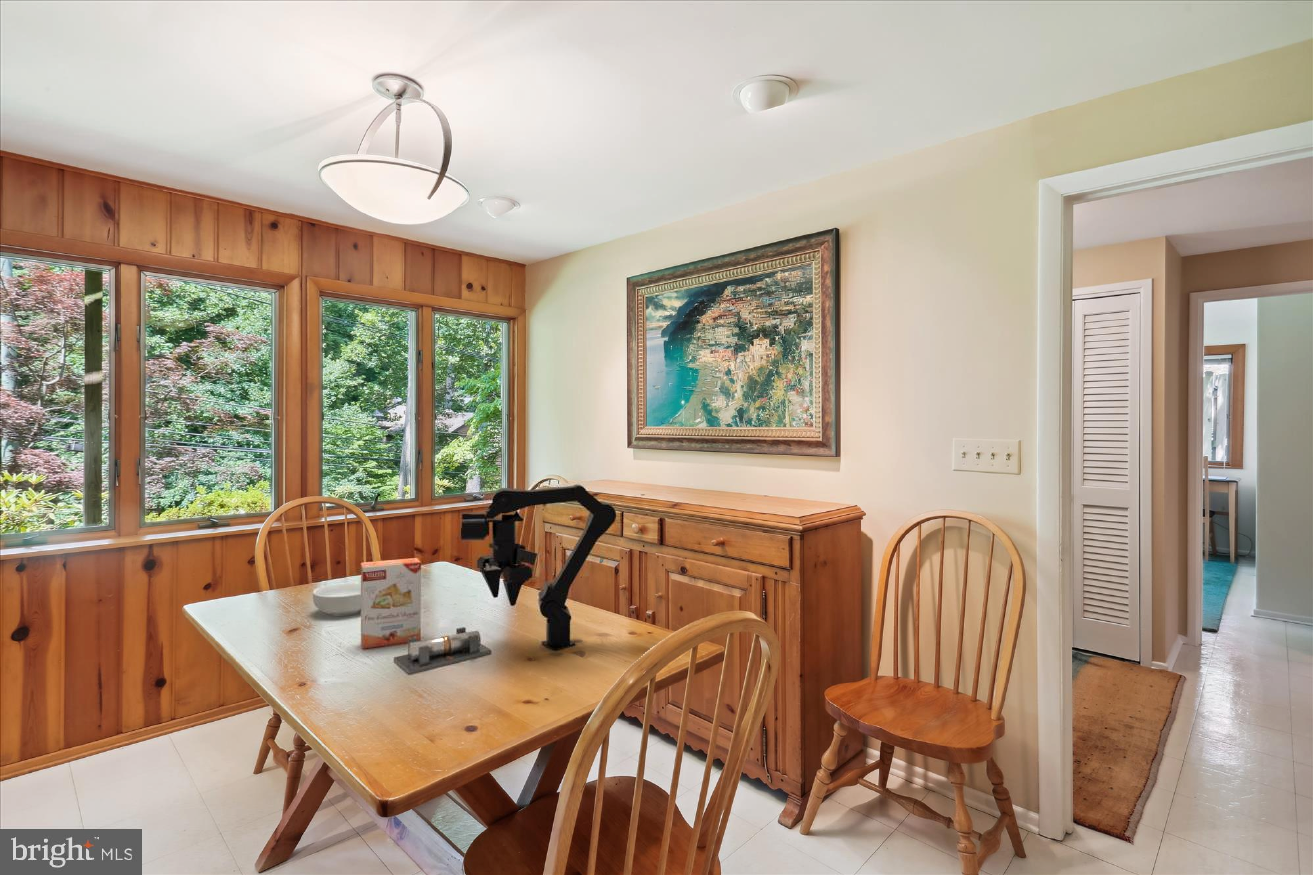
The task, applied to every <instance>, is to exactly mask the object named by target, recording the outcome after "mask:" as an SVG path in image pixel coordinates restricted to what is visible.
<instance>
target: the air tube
mask: <svg viewBox="0 0 1313 875" xmlns="http://www.w3.org/2000/svg"><path fill="white" fill-rule="evenodd" d="M475 634H477V635H478V647H480V644H482V642H481V634H480V631H479V630H477V629H476V630H473V631H471V630H470V631H467V632H466V633H460V634H451V635H449V634H448V635H444V636H439V637H433V638H428V639H423V640H420V641H417V642H411V643H409V657H410V660H416V659H419V647H422V646H426V645H428V646H429V657H431V656H436V655H441V654H447V653H451V652H456V651H461V650H466V649H468V636H470V635H475Z"/></svg>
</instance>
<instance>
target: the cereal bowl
mask: <svg viewBox="0 0 1313 875" xmlns="http://www.w3.org/2000/svg"><path fill="white" fill-rule="evenodd" d="M312 601H313V605H314V606H315V607H316V609H318V610H319V611H320V612H324V613H327V614H329V615H330V616H333V617H344V616H350V615H354V614H357V613H359V611H361V582H356V581H355V582H341V583H340V582H339V583H332V584H327V585H323V586H320V587H318V588H317V587H316V588H315V589H314V590H313V591H312Z"/></svg>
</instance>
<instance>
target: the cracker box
mask: <svg viewBox="0 0 1313 875" xmlns="http://www.w3.org/2000/svg"><path fill="white" fill-rule="evenodd" d="M360 583H361V610H360V643H361V649H363V650H365V649H371V648H377V647H378V648H379V647H384V646H393V645H397V644H398V645H399V644H406V643H407V644H408V639H411V638H415V637H417V638H418V641H422V640H421V637H422V636H421V634H422V633H421V629H422V628H421V627H422V626H421V623H422V622H421V620H422V619H421V618H422V617H421V615H422V612H421V610H422V607H421V606H422V597H421V596H422V563H421V560H420V559H419V558H418V557H413V558H410V557H409V558H400V559H399V558H398V559H390V560H389V559H387V560H376V561H365V562H363V561H362V562H361V563H360Z"/></svg>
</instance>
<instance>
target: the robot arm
mask: <svg viewBox="0 0 1313 875" xmlns="http://www.w3.org/2000/svg"><path fill="white" fill-rule="evenodd" d="M569 502H570V503H571V502H577V503H579V505H581V506H582V507H583V508H585V509H586V510H587V512H589V513H588V516H587V517H586V521H585V522H586V523H585V526H584V530H583V532H582V534H580V537H579V539H578V540H577V542H576V543H575V546H574V547H573V549H572V551H570V554H569V556H568V557H567V559H566V561H565V563H564V564H563V566H562V567H561V569H560V571H559V573H558V575H557V576H556V577H555V579H553V580H552V581H551V582H549V581H548V580H546V581H544V585H543V588H542V589H541V590H540V591H539V592H538V594H537V595H538V601H537V602H538V607H539V612H540V614H541V616H542V617H544V618H545V619H546V625H545V626H546V627H545V629H546V632H545V633H546V637H545V638H546V640H543V641H541V642H540V643H541V645H543V646H544V647H547V648H548V649H550V650H552V651H557V650H562V649H565V648H569V647H573V646H575V645H576V642H575V641H573V640H572V639H571V620H572V615H571V612H570V609H569V606H567V605H566V602H567V600H568V595H569V593H570V592H569V591H570V588H571V586H572V584H573V583H574V581H575V579H576V577H577V576H578V574H579V572H580V571H581V569H582V568H583V565H584V564H585V562H586V560H587V559H588V556H589V555H590V554H591V551H592V550H593V549H594V546H595V545H596V544H597V542H598V540H599V538H601V537H602V536H603V535H604V534H606V532H608V530H609V529H610V528H611V527H612V525H613V524H614V523H615V521H616V519H617V512H616V509H615V508H614V506H612V505H611V504H609V503H608V502H606V501H605V500H603V501H599V500H598V498H596V497H594V496H593V494H591V493H590V492H589V491H587V489H586V488H585V487H584V486H583V485H581V484H574V485H570V486H568V485H567V486H557V487H549V488H539V489H538V488H537V489H536V488H535V489H519V488H510V487H509V488H508V487H500V488H498V489H496V491H494V493H493V495H492V500H491V504H490V505H489V506H488V507H487V508H485V511H484V512H475V513H473V512H471V513H470V512H462V514H461V526H460V540H461V542H466V541H468V542H469V541H485V540H486V538H487V536H488V537H489V536H490V523H491V524H492V525H491V531H492V533H491V541H492V542H489V543H488V548H490V549H491V552H492V553H491V554H489V555H483V556H479V558H478V559H477V560H476V564H477V565H476V569H479V572H480V573H481V575H482V577H483V579H484V581H485V583H486V585H487V587H488V589H489V591H490V593H491V595H492V597H493V599H496V598H498V597H499V593H500V584H501V575H502V577H503V579H502V583H503V586H504V589H505V592H506V596H507V599H508V601H509V605H510V606H511V607H513V606H516V604H517V600H518V597H519V594H520V592H521V588H522V586H523V585H524V583H525V582H526V583H527V582H528V581H529V580H530V579H533V575H534V574H533V573H534V572H533V571H534V570H533V568H532V567H531V566H535V564H536V561H537V557H538V553H537V552H533V551H531V550H527V549H526V545H523V544H521V543H519V542H517V522H523V521H524V517H523V515H521V514H520V513H519V510H520V511H521V510H522V509H525V508H528V507H531V506H533V507H534V506H542V505H551V504H552V505H553V504H560V503H569ZM511 513H512V514H511ZM500 514H501V517H499V515H500ZM497 516H498V517H497ZM524 563H525V564H524ZM526 564H530V566H529V565H526Z"/></svg>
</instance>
